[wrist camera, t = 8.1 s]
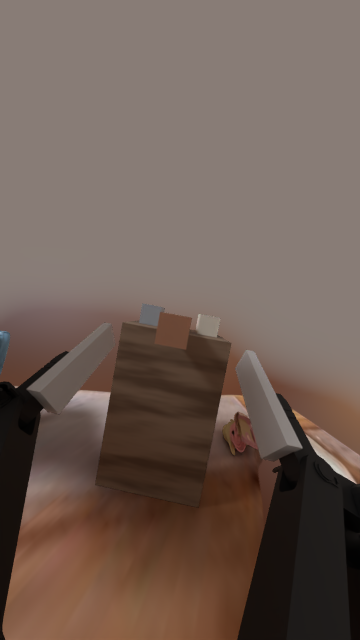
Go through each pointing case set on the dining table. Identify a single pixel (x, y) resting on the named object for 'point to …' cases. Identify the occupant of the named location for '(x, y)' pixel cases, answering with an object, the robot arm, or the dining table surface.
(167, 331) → the terracotta stick
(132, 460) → the walnut stand
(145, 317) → the slate cube
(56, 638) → the dining table surface
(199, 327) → the cream cube
